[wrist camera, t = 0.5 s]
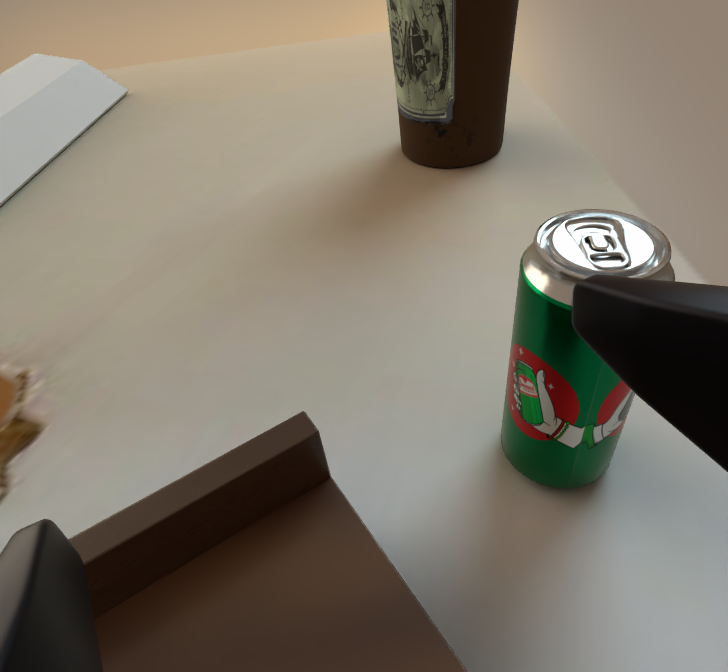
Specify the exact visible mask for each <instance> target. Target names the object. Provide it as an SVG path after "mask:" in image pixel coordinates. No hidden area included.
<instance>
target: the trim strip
mask: <svg viewBox="0 0 728 672" xmlns="http://www.w3.org/2000/svg"><path fill="white" fill-rule="evenodd" d="M127 93H128V89H126V88H125V87H123V86H122V85H120V84H118V83H117V82H115V81H114V80H112V79H111V78H109V77H108V76H106V75H104V74H103V73H101V72H100V71H98V70H97V69H95V68H93V67H92V66H90V65H89V64H87V63H86V62H84V61H81V60H75V59H68V58H62V57H56V56H49V55H43V54H36V53H35V54H33V55H32V56H30V57H28V58H26V59H25V60H23V61H21V62H20V63H18V64H17V65H15V66H13V67H11V68H10V69H8V70H7V71H5V72H3V73H1V74H0V206H1V205H2V204H4V203H5V202H6V201H7V200H8V199H9V198H10V197H11V196H13V195H14V194H15V193H16V192H17V191H18V190H19V189H20V188H22V187H23V186H24V185H25V184H26V183H27V182H28V181H29V180H30V179H32V178H33V177H34V176H35V175H36V174H37V173H38V172H39V171H41V170H42V169H43V168H44V167H45V166H46V165H47V164H48V163H50V162H51V161H52V160H53V159H54V158H55V157H56V156H57V155H59V154H60V153H61V152H62V151H63V150H64V149H65V148H66V147H67V146H69V145H70V144H71V143H72V142H73V141H74V140H75V139H76V138H78V137H79V136H80V135H81V134H82V133H83V132H84V131H85V130H87V129H88V128H89V127H90V126H91V125H92V124H93V123H94V122H96V121H97V120H98V119H99V118H100V117H101V116H102V115H103V114H104V113H106V112H107V111H108V110H109V109H110V108H111V107H112V106H113V105H115V104H116V103H117V102H118V101H119V100H120V99H121V98H122V97H124V96H125V95H126V94H127Z"/></svg>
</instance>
